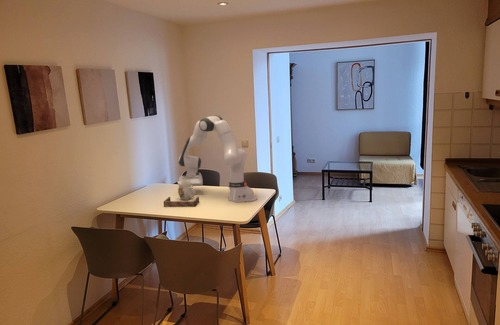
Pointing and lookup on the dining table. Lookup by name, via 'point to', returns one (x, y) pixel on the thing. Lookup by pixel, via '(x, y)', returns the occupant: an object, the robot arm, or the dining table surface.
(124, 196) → the dining table surface
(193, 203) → the tray
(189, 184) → the pitcher
